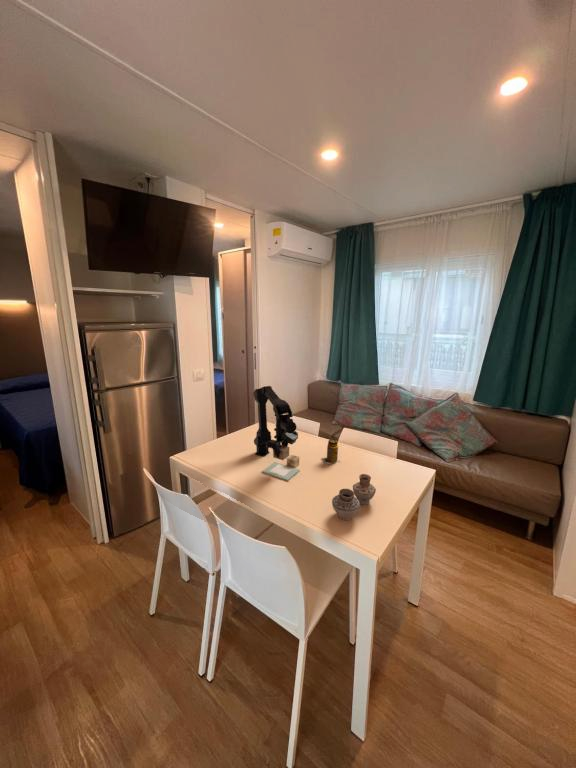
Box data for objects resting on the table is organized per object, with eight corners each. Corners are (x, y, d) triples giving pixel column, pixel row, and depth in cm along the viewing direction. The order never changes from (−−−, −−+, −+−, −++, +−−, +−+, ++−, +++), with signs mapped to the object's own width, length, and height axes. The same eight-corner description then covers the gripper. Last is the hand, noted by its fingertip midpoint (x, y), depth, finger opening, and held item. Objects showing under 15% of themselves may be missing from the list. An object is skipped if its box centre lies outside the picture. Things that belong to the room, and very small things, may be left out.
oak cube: (286, 466, 164) (286, 458, 162) (291, 462, 168) (291, 454, 167) (294, 469, 161) (294, 460, 160) (299, 465, 165) (299, 456, 164)
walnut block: (273, 457, 155) (273, 448, 154) (279, 452, 160) (279, 444, 159) (283, 460, 152) (283, 451, 151) (289, 455, 157) (289, 446, 156)
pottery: (379, 501, 134) (381, 477, 131) (349, 529, 116) (351, 501, 113) (357, 491, 141) (359, 468, 139) (325, 515, 124) (327, 490, 121)
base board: (262, 472, 157) (262, 470, 157) (274, 463, 167) (274, 461, 167) (288, 481, 149) (288, 479, 149) (299, 471, 159) (299, 469, 159)
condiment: (340, 461, 170) (341, 442, 167) (327, 464, 166) (328, 444, 163) (333, 456, 176) (334, 437, 173) (320, 459, 172) (321, 439, 170)
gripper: (285, 436, 140) (284, 466, 144) (304, 424, 156) (303, 451, 160) (265, 431, 146) (265, 460, 150) (285, 420, 162) (285, 446, 165)
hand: (281, 454), depth 156 cm, fingers closed on walnut block, 6 cm apart
